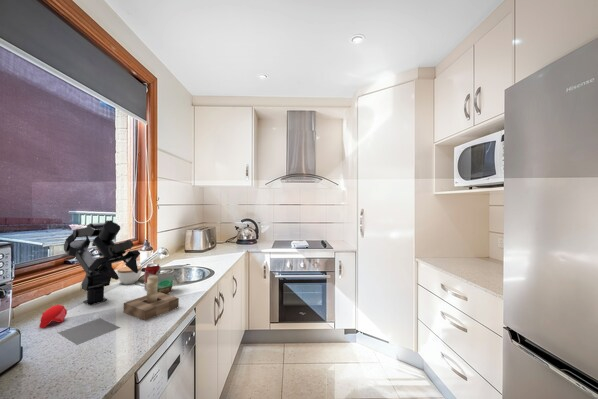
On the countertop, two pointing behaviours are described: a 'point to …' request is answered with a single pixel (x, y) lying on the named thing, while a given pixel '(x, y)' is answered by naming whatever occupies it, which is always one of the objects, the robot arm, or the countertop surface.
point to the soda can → (151, 271)
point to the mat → (88, 331)
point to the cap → (53, 315)
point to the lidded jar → (128, 275)
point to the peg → (152, 289)
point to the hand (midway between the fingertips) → (128, 275)
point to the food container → (165, 281)
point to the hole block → (151, 306)
